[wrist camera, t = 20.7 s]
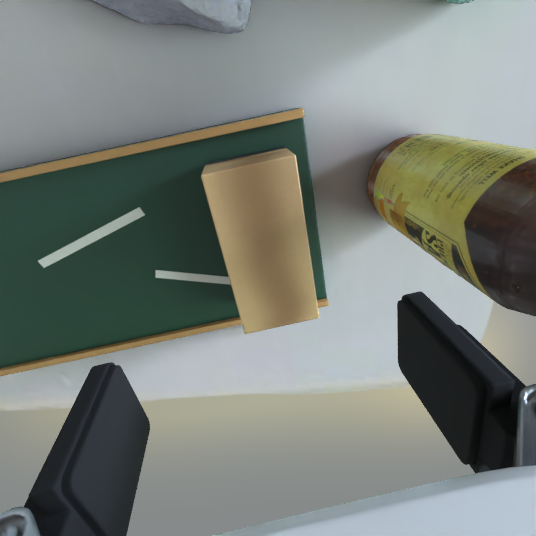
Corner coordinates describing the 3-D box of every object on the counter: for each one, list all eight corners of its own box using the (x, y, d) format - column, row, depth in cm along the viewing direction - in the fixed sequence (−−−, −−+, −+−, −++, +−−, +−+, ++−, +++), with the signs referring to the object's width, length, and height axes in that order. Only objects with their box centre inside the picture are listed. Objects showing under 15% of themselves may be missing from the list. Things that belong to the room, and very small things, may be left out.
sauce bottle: (347, 205, 24) (673, 493, 6) (391, 115, 22) (1110, 175, 4) (422, 233, 26) (851, 526, 8) (470, 152, 23) (1241, 314, 6)
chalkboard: (11, 362, 27) (-2, 376, 26) (-109, 195, 21) (-134, 202, 19) (323, 295, 27) (328, 305, 26) (298, 107, 21) (303, 108, 20)
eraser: (242, 302, 25) (244, 334, 22) (205, 162, 21) (200, 175, 17) (307, 288, 25) (319, 318, 22) (284, 145, 21) (295, 154, 17)
